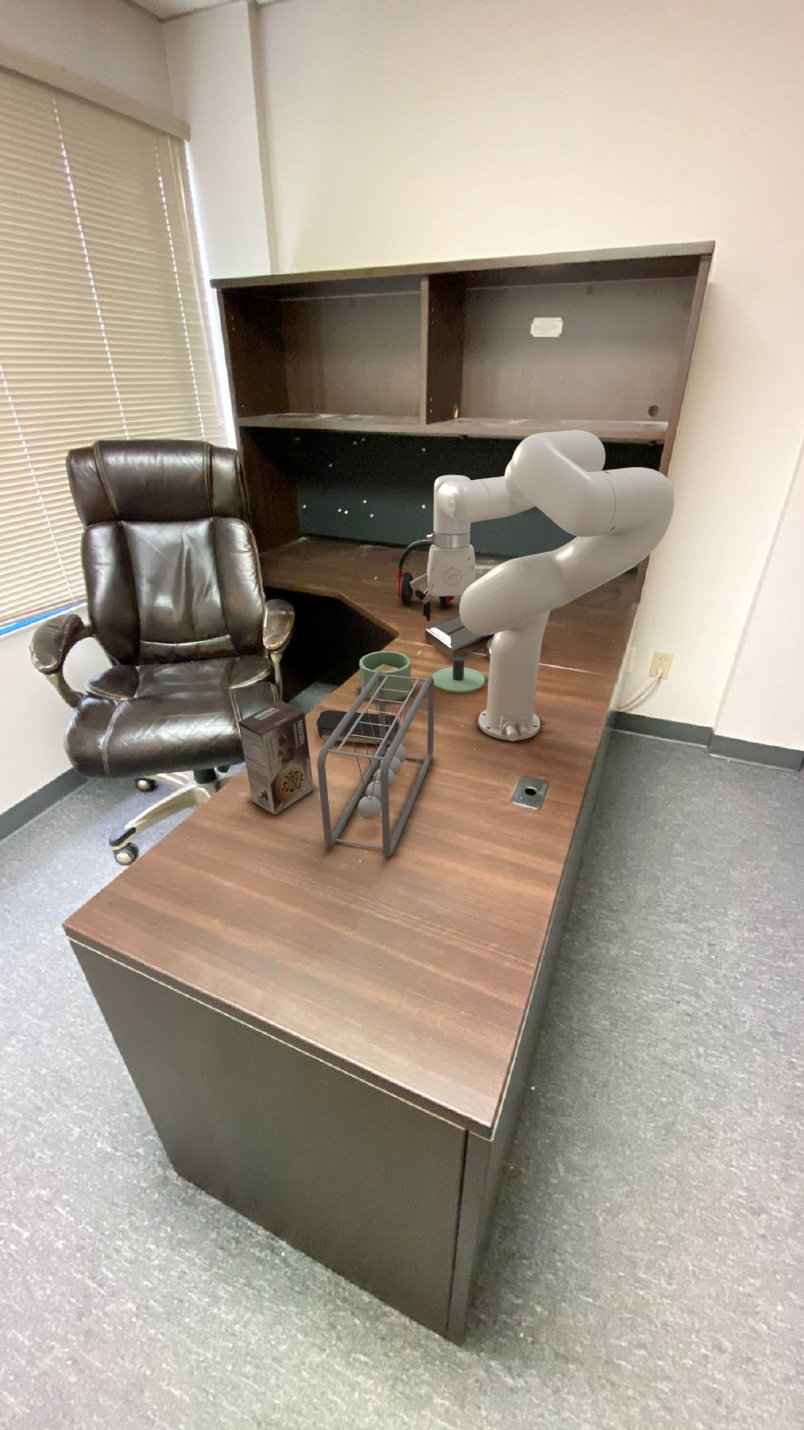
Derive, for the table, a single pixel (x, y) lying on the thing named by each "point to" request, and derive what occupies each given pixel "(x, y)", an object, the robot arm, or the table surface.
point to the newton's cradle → (388, 766)
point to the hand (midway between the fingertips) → (449, 618)
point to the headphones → (404, 580)
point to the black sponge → (333, 718)
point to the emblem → (456, 639)
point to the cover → (458, 678)
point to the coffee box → (277, 756)
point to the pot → (387, 673)
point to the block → (385, 668)
